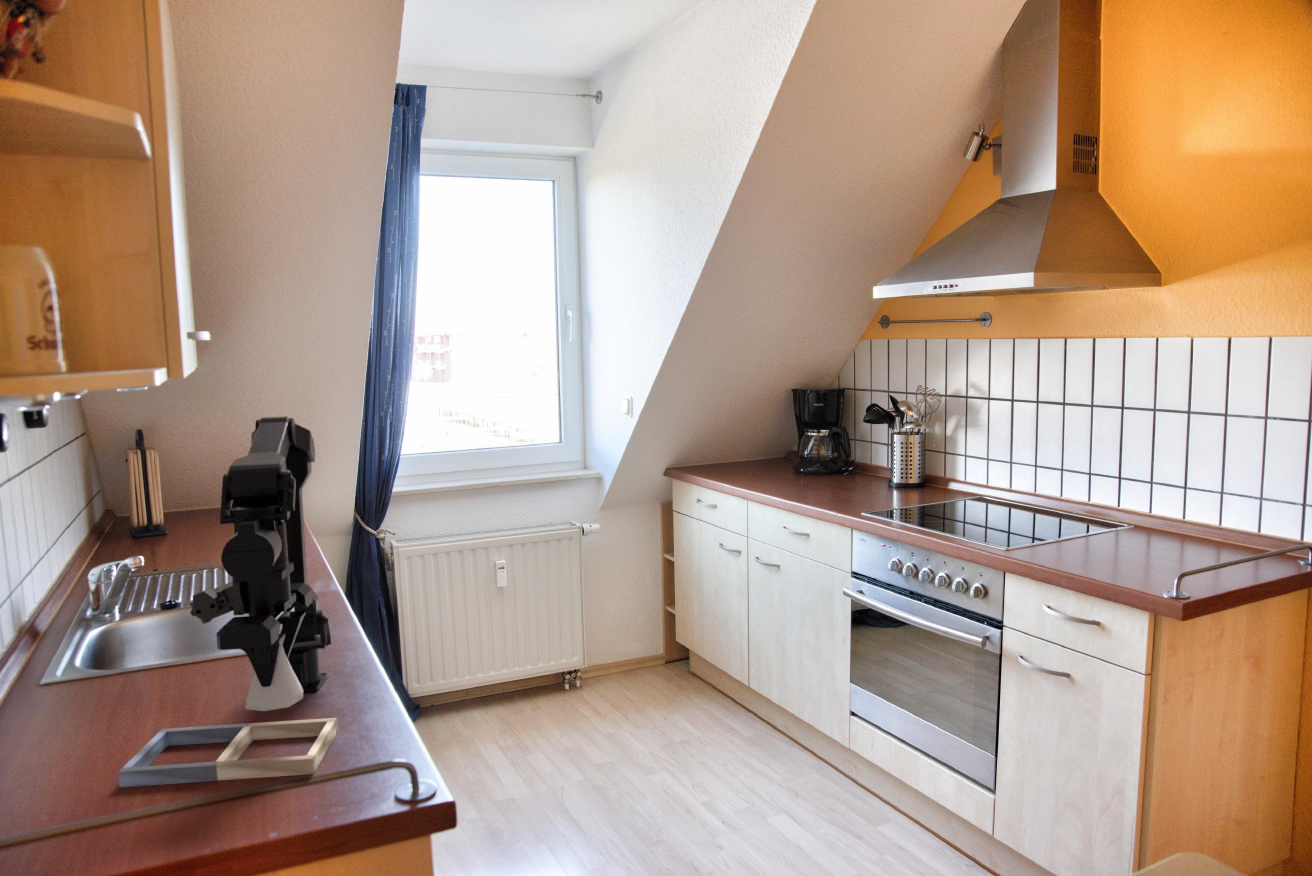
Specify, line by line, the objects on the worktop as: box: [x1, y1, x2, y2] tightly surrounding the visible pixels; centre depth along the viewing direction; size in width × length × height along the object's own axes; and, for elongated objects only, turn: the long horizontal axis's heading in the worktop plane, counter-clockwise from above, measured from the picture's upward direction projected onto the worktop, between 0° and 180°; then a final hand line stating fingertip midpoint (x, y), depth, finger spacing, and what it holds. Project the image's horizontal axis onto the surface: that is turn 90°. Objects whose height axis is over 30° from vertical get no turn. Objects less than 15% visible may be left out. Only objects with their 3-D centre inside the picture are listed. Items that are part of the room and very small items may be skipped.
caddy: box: [117, 717, 339, 788], centre depth 116 cm, size 12×23×2 cm, turn 96°
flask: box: [244, 624, 304, 712], centre depth 115 cm, size 7×7×10 cm
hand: (273, 678), depth 115 cm, fingers closed on flask, 5 cm apart
